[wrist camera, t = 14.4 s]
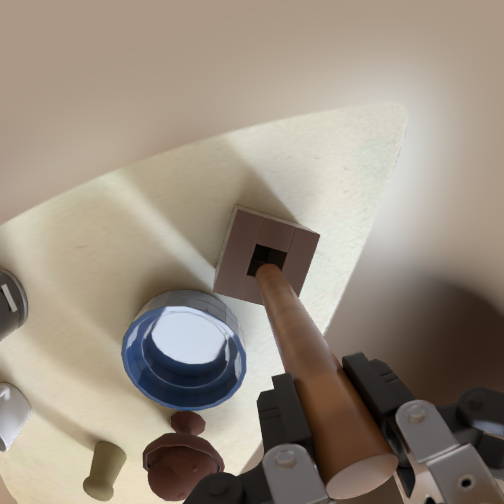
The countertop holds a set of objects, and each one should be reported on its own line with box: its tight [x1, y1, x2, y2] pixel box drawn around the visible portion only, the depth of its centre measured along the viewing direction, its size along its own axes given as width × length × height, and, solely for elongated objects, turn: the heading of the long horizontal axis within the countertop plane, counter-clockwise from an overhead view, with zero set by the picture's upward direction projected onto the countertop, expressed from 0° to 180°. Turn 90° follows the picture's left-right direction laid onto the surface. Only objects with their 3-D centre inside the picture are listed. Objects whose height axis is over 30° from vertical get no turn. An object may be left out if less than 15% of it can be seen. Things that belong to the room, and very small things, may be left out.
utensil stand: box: [213, 204, 320, 306], centre depth 32 cm, size 8×8×8 cm
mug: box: [0, 383, 32, 452], centre depth 32 cm, size 12×8×11 cm
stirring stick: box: [256, 264, 398, 499], centre depth 16 cm, size 2×2×20 cm
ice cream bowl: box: [143, 411, 225, 501], centre depth 33 cm, size 11×11×15 cm
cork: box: [83, 442, 126, 501], centre depth 36 cm, size 6×6×11 cm
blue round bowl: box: [121, 290, 246, 411], centre depth 35 cm, size 14×14×6 cm
